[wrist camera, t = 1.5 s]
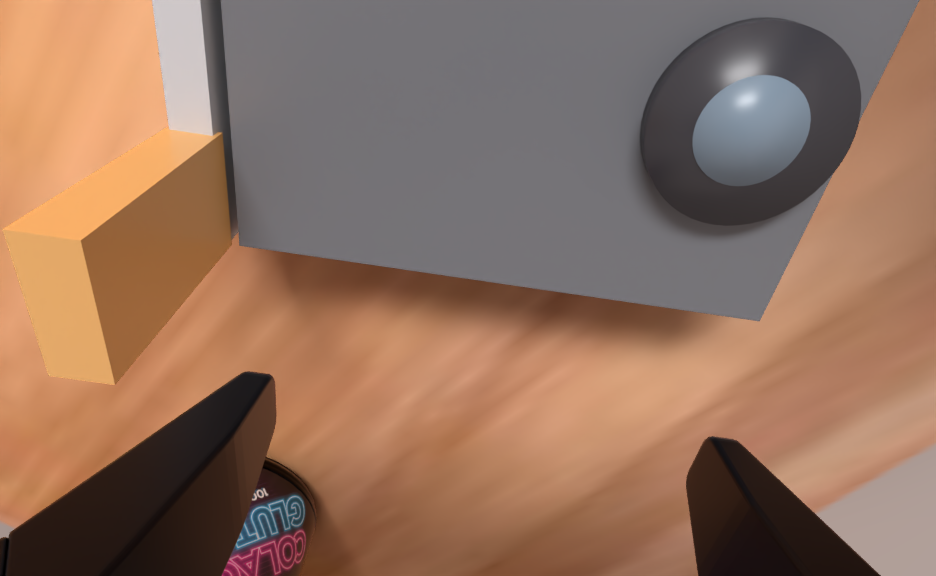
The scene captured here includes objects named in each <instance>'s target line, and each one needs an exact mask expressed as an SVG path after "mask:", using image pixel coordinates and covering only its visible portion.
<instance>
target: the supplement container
mask: <svg viewBox="0 0 936 576" xmlns="http://www.w3.org/2000/svg"><path fill="white" fill-rule="evenodd" d="M316 521H317V516H316V507H315V503H314V500H313V498H312V496H311V494H310V492H309V490H308V489H307V487H306V486H305V484H304V483H303V482H302V481H301V480H300V478H299V477H298V476H296V475H295V474H294V473H293V472H292V471H290V470H289V469H288V468H286V467H285V466H283V465H281V464H279V463H278V462H276V461H273V460H271V459H269V458H265V461H264V464H263V467H262V470H261V473H260V476H259V480H258V483H257V486H256V489H255V492H254V495H253V498H252V501H251V505H250V508H249V511H248V514H247V517H246V520H245V523H244V525H243V528H242V531H241V533H240V535H239V538H238V540H237V543H236V545H235V547H234V549H233V552H232V554H231V556H230V558H229V561H228V563H227V565H226V567H225V569H224V572H223V574H222V576H301V572H302V569H303V566H304V563H305V559H306V556H307V553H308V550H309V546H310V543H311V540H312V537H313V533H314V530H315V527H316Z"/></svg>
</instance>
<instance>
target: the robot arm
mask: <svg viewBox="0 0 936 576" xmlns="http://www.w3.org/2000/svg"><path fill="white" fill-rule="evenodd" d="M275 424H276V394H275V381H274V378H273V376H271V375H270V374H264V373H257V372H250V371H248V372H243V373H241V374H240V375H238V376H237V377H235V378H234V379H232V380H231V381H229V382H228V383H226V384H225V385H224V386H222V387H221V388H219V389H218V390H216V391H215V392H213V393H212V394H210V395H209V396H208V397H206V398H205V399H203V400H202V401H200V402H199V403H197V404H196V405H194V406H193V407H192V408H190V409H189V410H187V411H186V412H184V413H183V414H181V415H180V416H178V417H177V418H176V419H174V420H173V421H171V422H170V423H168V424H167V425H165V426H164V427H162V428H161V429H160V430H158V431H157V432H155V433H154V434H152V435H151V436H149V437H148V438H146V439H145V440H144V441H142V442H141V443H139V444H138V445H136V446H135V447H133V448H132V449H130V450H129V451H128V452H126V453H125V454H123V455H122V456H120V457H119V458H117V459H116V460H114V461H113V462H112V463H110V464H109V465H107V466H106V467H104V468H103V469H101V470H100V471H98V472H97V473H96V474H94V475H93V476H91V477H90V478H88V479H87V480H85V481H84V482H82V483H81V484H80V485H78V486H77V487H75V488H74V489H72V490H71V491H69V492H68V493H67V494H65V495H64V496H62V497H61V498H59V499H58V500H56V501H55V502H53V503H52V504H51V505H49V506H48V507H46V508H45V509H43V510H42V511H40V512H39V513H37V514H36V515H35V516H33V517H32V518H30V519H29V520H27V521H26V522H24V523H23V524H21V525H20V526H19V527H17V528H16V529H14V530H13V531H11V532H10V534H9V538H6V537H3V538H1V539H0V576H222V574H223V572H224V569H225V567H226V565H227V563H228V561H229V558H230V556H231V554H232V552H233V549H234V547H235V545H236V543H237V540H238V538H239V535H240V533H241V531H242V528H243V525H244V523H245V520H246V517H247V514H248V511H249V508H250V505H251V501H252V498H253V495H254V492H255V489H256V486H257V483H258V480H259V476H260V473H261V470H262V467H263V464H264V461H265V458H266V455H267V451H268V448H269V445H270V442H271V439H272V436H273V433H274V429H275ZM686 489H687V497H688V504H689V512H690V519H691V526H692V534H693V541H694V548H695V556H696V563H697V570H698V576H881V575H879V574H878V573H877V572H876V571H875V570H874V569H873V568H872V567H871V566H870V565H869V564H868V563H867V562H866V561H865V560H864V559H863V558H861V557H860V556H859V555H858V554H857V553H856V552H855V551H854V550H853V549H852V548H851V547H850V546H849V545H848V544H847V543H846V542H844V541H843V540H842V539H841V538H840V537H839V536H838V535H837V534H836V533H835V532H834V531H833V530H832V529H831V528H830V527H828V525H826V524H825V523H824V522H823V521H822V520H821V519H820V518H819V517H818V516H817V515H816V514H815V513H814V512H813V511H812V510H811V509H810V508H808V507H807V506H806V505H805V504H804V503H803V502H802V501H801V500H800V499H799V498H798V497H797V496H796V495H795V494H794V493H793V492H791V491H790V490H789V489H788V488H787V487H786V486H785V485H784V484H783V483H782V482H781V481H780V480H779V479H778V478H777V477H776V476H775V475H773V474H772V473H771V472H770V471H769V470H768V469H767V468H766V467H765V466H764V465H763V464H762V463H761V462H760V461H759V460H758V459H757V458H755V457H754V456H753V455H752V454H751V453H750V452H749V451H748V450H747V449H746V448H745V447H744V446H743V445H742V444H740V443H739V442H738V441H736V440H733V439H728V438H721V437H713V436H712V437H708V438H707V439H706V440H705V441H704V442H703V444H702V446H701V448H700V450H699V452H698V454H697V456H696V458H695V460H694V461H693V463H692V465H691V467H690V469H689V472H688V475H687V480H686Z"/></svg>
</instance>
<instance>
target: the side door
mask: <svg viewBox="0 0 936 576" xmlns="http://www.w3.org/2000/svg"><path fill="white" fill-rule="evenodd" d="M152 4H153V11H154V19H155V26H156V34H157V41H158V49H159V56H160V64H161V71H162V79H163V86H164V94H165V101H166V109H167V116H168V124H169V126H168V127H167V128H165V129H163V130H162V131H160V132H159V133H157V134H155V135H154V136H152V137H151V138H149V139H147V140H146V141H144V142H142V143H141V144H139V145H138V146H136V147H134V148H133V149H131V150H130V151H128V152H126V153H125V154H123V155H122V156H120V157H118V158H117V159H115V160H113V161H112V162H110V163H109V164H107V165H105V166H104V167H102V168H101V169H99V170H97V171H96V172H94V173H92V174H91V175H89V176H88V177H86V178H84V179H83V180H81V181H80V182H78V183H76V184H75V185H73V186H71V187H70V188H68V189H67V190H65V191H63V192H62V193H60V194H59V195H57V196H55V197H54V198H52V199H50V200H49V201H47V202H46V203H44V204H42V205H41V206H39V207H38V208H36V209H34V210H33V211H31V212H29V213H28V214H26V215H25V216H23V217H21V218H20V219H18V220H17V221H15V222H13V223H12V224H10V225H8V226H7V227H5V228H4V229H2V230H3V233H4V236H5V240H6V243H7V246H8V249H9V252H10V256H11V259H12V262H13V265H14V268H15V271H16V275H17V278H18V281H19V284H20V287H21V290H22V294H23V297H24V300H25V303H26V306H27V309H28V313H29V316H30V319H31V322H32V325H33V328H34V332H35V335H36V338H37V341H38V344H39V347H40V351H41V354H42V357H43V360H44V363H45V366H46V370H47V373H48V376H52V377H60V378H67V379H74V380H82V381H89V382H96V383H104V384H111V385H116V383H117V382H118V381H119V380H120V379H121V377H122V376H123V375H124V374H125V372H126V371H127V370H128V369H129V368H130V366H131V365H132V364H133V363H134V362H135V360H136V359H137V358H138V357H139V356H140V354H141V353H142V352H143V351H144V350H145V348H146V347H147V346H148V345H149V344H150V342H151V341H152V340H153V339H154V338H155V336H156V335H157V334H158V333H159V332H160V330H161V329H162V328H163V327H164V326H165V324H166V323H167V322H168V321H169V320H170V318H171V317H172V316H173V315H174V314H175V312H176V311H177V310H178V309H179V308H180V306H181V305H182V304H183V303H184V302H185V300H186V299H187V298H188V297H189V296H190V294H191V293H192V292H193V291H194V289H195V288H196V287H197V286H198V285H199V283H200V282H201V281H202V280H203V279H204V277H205V276H206V275H207V274H208V273H209V271H210V270H211V269H212V268H213V267H214V265H215V264H216V263H217V262H218V261H219V259H220V258H221V257H222V256H223V255H224V253H225V252H226V251H227V250H228V249H229V247H230V246H231V245H232V239H233V238H234V236H235V235H236V234H237V233H238V219H237V206H236V193H235V180H234V167H233V153H232V140H231V127H230V114H229V101H228V88H227V75H226V62H225V49H224V36H223V22H222V9H221V0H152Z"/></svg>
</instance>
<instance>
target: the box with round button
mask: <svg viewBox="0 0 936 576" xmlns="http://www.w3.org/2000/svg"><path fill="white" fill-rule="evenodd" d="M918 2H919V0H221V9H222V22H223V36H224V49H225V62H226V75H227V88H228V101H229V114H230V127H231V140H232V153H233V167H234V180H235V193H236V206H237V219H238V232H239V245H240V246H245V247H252V248H259V249H266V250H273V251H280V252H287V253H294V254H300V255H307V256H314V257H321V258H328V259H335V260H342V261H349V262H355V263H362V264H369V265H376V266H383V267H390V268H397V269H404V270H411V271H417V272H424V273H431V274H438V275H445V276H452V277H459V278H466V279H472V280H479V281H486V282H493V283H500V284H507V285H514V286H521V287H527V288H534V289H541V290H548V291H555V292H562V293H569V294H576V295H582V296H589V297H596V298H603V299H610V300H617V301H624V302H631V303H637V304H644V305H651V306H658V307H665V308H672V309H679V310H686V311H692V312H699V313H706V314H713V315H720V316H727V317H734V318H741V319H747V320H754V321H760V319H761V317H762V315H763V313H764V311H765V309H766V307H767V305H768V303H769V301H770V299H771V297H772V295H773V293H774V291H775V289H776V287H777V285H778V283H779V281H780V279H781V277H782V275H783V273H784V271H785V269H786V267H787V265H788V263H789V261H790V259H791V257H792V255H793V253H794V251H795V249H796V247H797V245H798V243H799V241H800V239H801V237H802V235H803V233H804V231H805V229H806V227H807V225H808V223H809V221H810V219H811V217H812V215H813V213H814V211H815V209H816V207H817V205H818V203H819V201H820V199H821V197H822V195H823V193H824V191H825V189H826V187H827V185H828V183H829V181H830V179H831V177H832V175H833V173H834V172H835V170H836V169H837V168H838V166H839V165H840V163H841V162H842V161H843V159H844V157H845V155H846V154H847V152H848V150H849V148H850V146H851V144H852V141H853V139H854V137H855V134H856V130H857V127H858V124H859V121H860V119H861V117H862V115H863V113H864V110H865V108H866V106H867V104H868V102H869V100H870V98H871V96H872V94H873V92H874V90H875V88H876V86H877V84H878V82H879V80H880V78H881V76H882V74H883V72H884V70H885V68H886V66H887V64H888V62H889V60H890V58H891V56H892V54H893V52H894V50H895V48H896V46H897V44H898V42H899V40H900V38H901V36H902V34H903V32H904V30H905V28H906V26H907V24H908V22H909V20H910V18H911V16H912V14H913V12H914V10H915V8H916V6H917V4H918Z"/></svg>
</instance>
